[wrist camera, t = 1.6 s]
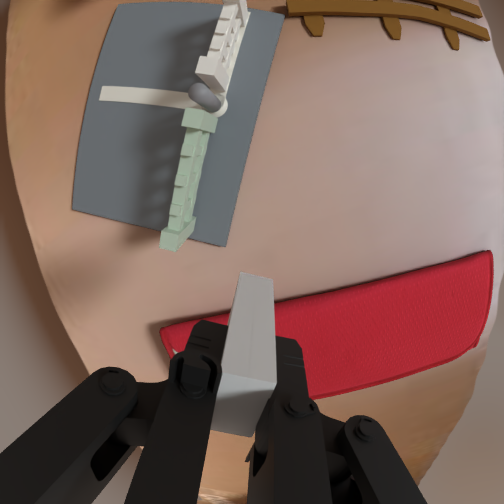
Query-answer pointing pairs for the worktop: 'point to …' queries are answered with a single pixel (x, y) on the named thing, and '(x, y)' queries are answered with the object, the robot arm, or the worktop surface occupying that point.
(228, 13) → the fixed fence panel
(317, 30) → the decorative fence
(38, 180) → the worktop surface
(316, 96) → the worktop surface
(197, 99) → the hinged fence panel
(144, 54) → the card
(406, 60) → the worktop surface
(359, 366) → the dish drying mat
